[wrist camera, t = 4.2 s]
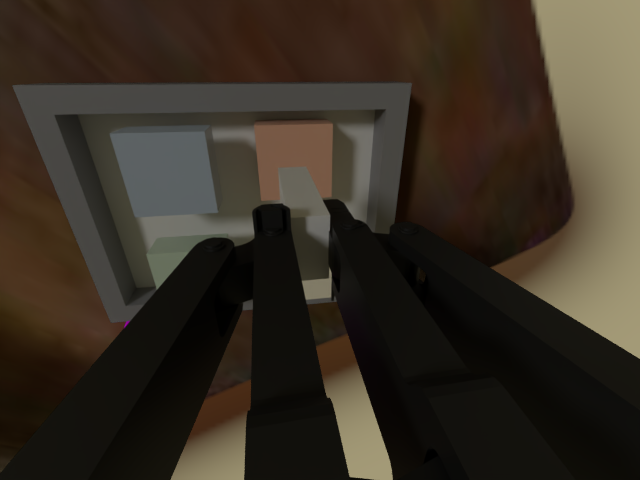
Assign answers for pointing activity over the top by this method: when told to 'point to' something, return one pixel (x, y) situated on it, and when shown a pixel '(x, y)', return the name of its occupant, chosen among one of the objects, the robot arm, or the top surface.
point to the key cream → (318, 288)
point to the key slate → (169, 169)
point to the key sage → (172, 254)
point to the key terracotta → (294, 152)
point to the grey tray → (231, 154)
